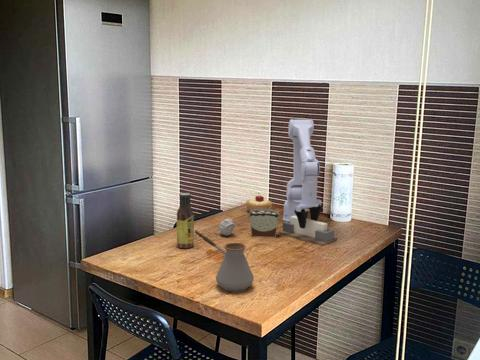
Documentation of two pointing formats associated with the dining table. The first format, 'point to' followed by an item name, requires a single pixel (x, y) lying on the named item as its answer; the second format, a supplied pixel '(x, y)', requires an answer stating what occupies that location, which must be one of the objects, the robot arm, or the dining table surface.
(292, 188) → the robot arm
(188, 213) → the sauce bottle
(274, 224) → the food container
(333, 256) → the dining table surface
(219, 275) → the coffee pot
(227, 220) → the crumpled paper ball
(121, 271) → the dining table surface
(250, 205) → the pastry
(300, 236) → the base board
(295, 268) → the dining table surface
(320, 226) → the slat
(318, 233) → the end caps
